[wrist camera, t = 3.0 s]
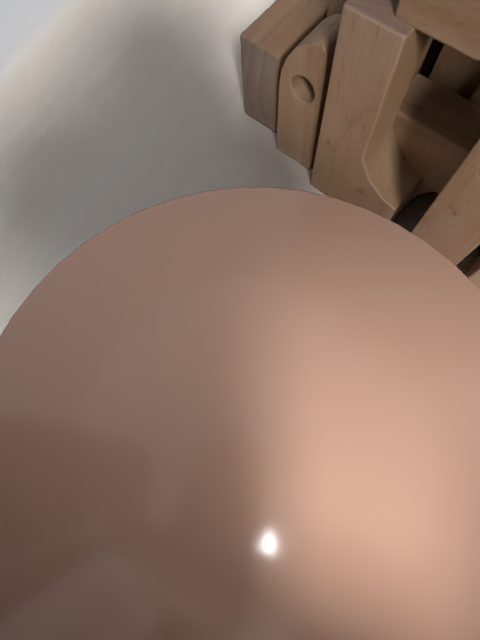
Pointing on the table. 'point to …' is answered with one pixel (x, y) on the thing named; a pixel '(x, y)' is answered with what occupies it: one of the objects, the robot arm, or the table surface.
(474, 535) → the salmon pink cylinder
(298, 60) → the wooden puzzle
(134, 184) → the table surface
